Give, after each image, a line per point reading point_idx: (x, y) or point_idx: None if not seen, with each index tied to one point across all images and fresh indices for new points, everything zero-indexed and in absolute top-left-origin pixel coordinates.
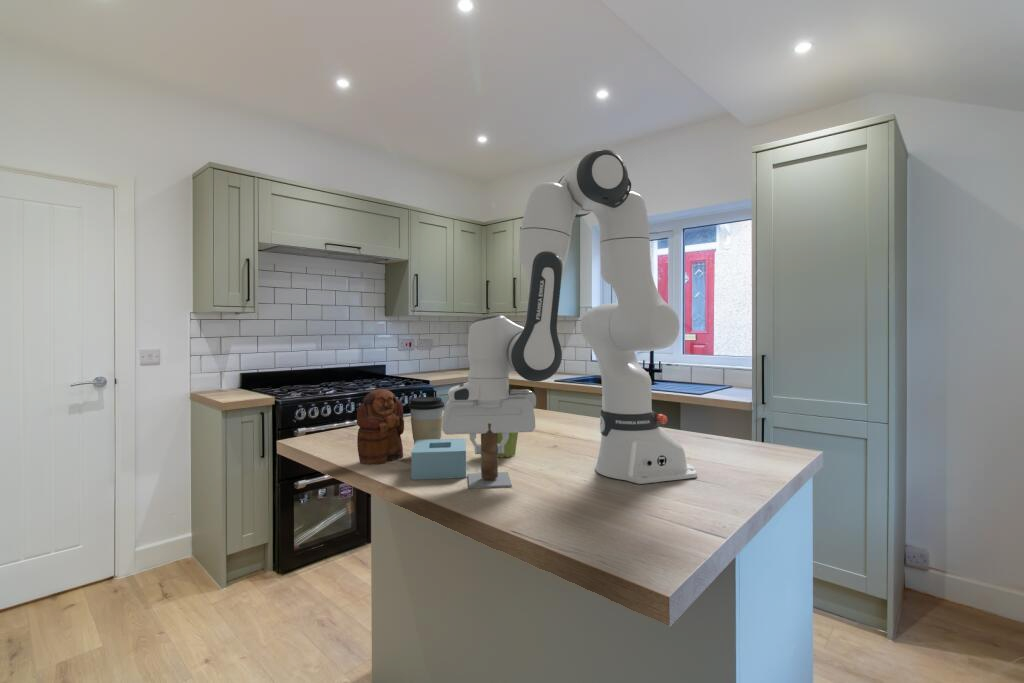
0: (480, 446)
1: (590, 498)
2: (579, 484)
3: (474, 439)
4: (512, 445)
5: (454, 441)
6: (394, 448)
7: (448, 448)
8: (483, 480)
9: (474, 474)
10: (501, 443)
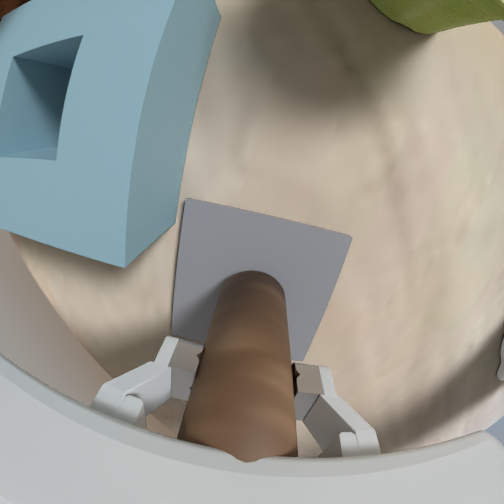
0: (186, 400)
1: (401, 421)
2: (445, 367)
3: (141, 397)
4: (457, 25)
5: (105, 18)
6: (10, 3)
7: (47, 183)
8: None
9: (208, 219)
10: (313, 416)
